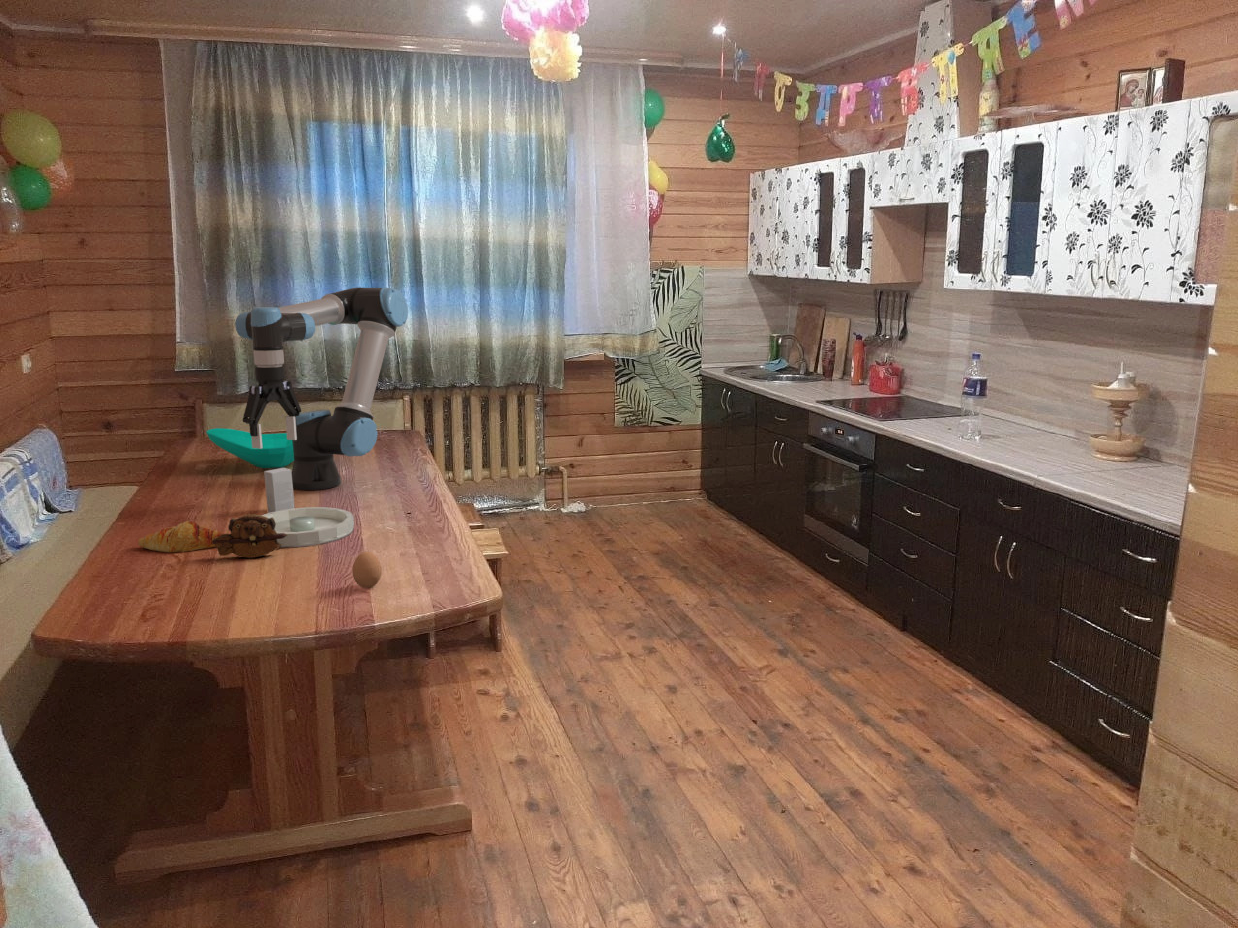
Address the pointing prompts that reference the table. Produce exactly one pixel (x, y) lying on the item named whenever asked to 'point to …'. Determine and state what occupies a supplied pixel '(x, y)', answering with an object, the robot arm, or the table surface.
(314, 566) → the table surface
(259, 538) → the wooden carving
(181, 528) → the croissant
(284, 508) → the skincare box
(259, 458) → the table top decor
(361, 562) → the egg
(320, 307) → the robot arm
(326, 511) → the ring tray
